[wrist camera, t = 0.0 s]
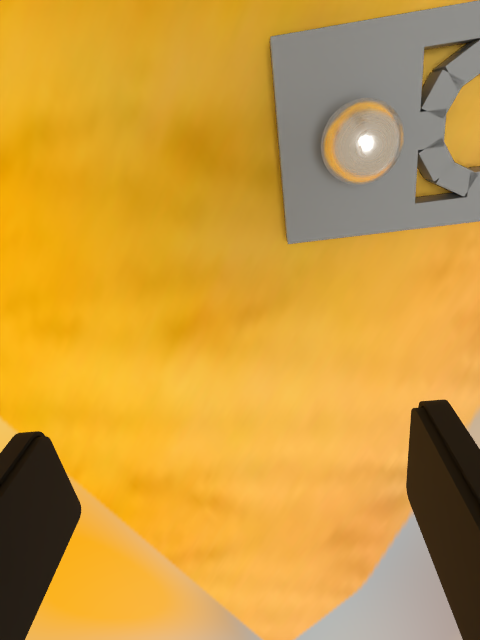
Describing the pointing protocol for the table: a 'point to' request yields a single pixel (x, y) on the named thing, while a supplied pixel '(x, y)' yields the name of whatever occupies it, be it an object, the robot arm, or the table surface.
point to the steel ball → (362, 141)
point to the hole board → (391, 87)
